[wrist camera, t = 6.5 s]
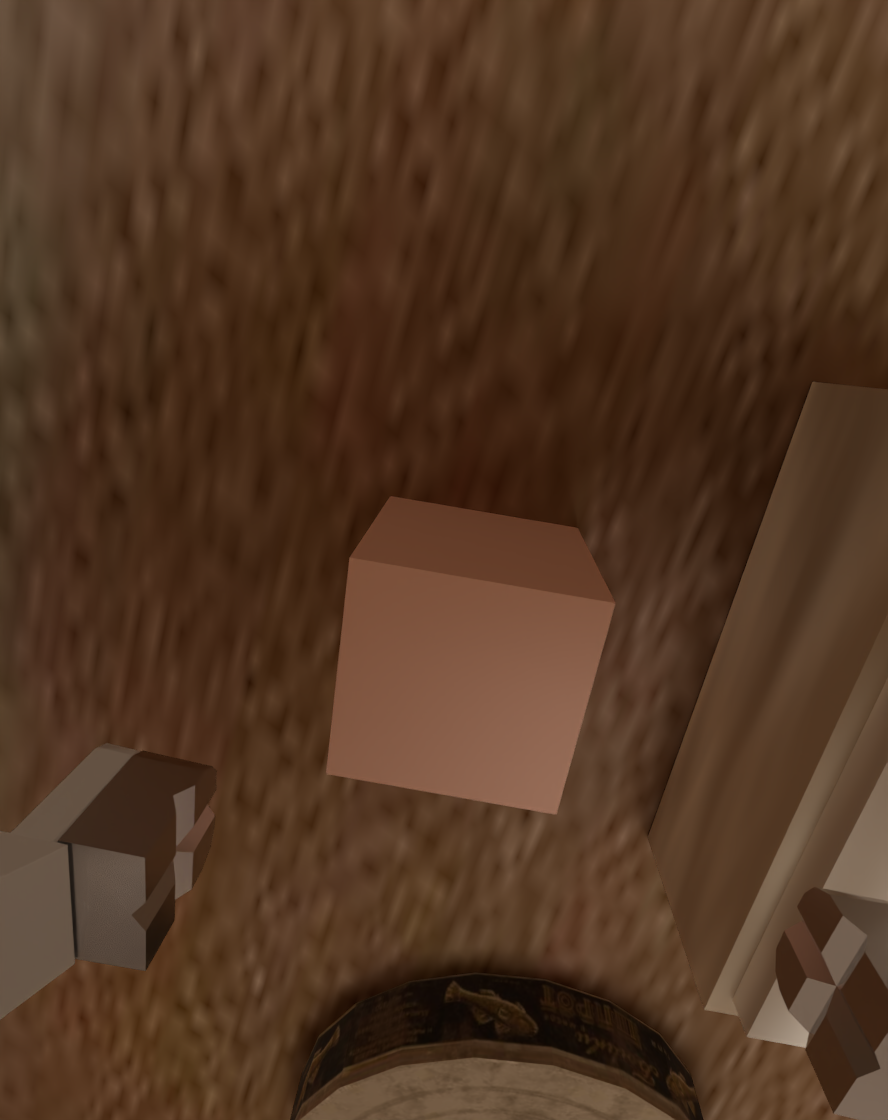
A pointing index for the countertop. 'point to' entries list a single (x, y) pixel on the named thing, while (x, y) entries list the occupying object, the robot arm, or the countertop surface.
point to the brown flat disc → (492, 1057)
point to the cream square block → (789, 721)
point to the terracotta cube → (467, 654)
